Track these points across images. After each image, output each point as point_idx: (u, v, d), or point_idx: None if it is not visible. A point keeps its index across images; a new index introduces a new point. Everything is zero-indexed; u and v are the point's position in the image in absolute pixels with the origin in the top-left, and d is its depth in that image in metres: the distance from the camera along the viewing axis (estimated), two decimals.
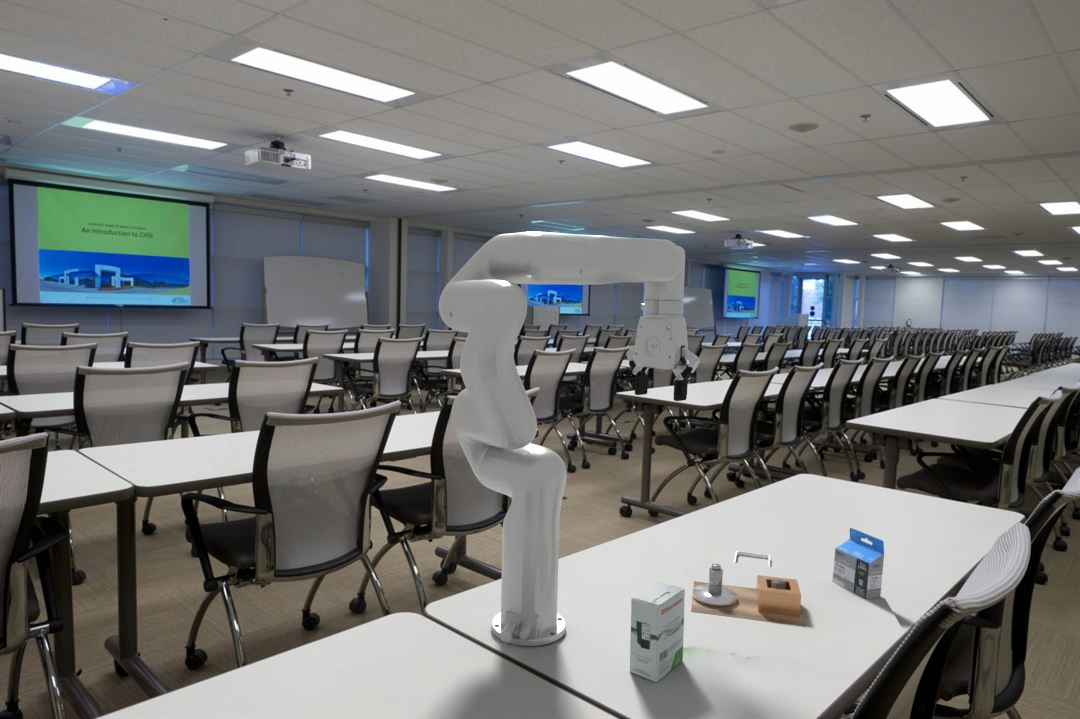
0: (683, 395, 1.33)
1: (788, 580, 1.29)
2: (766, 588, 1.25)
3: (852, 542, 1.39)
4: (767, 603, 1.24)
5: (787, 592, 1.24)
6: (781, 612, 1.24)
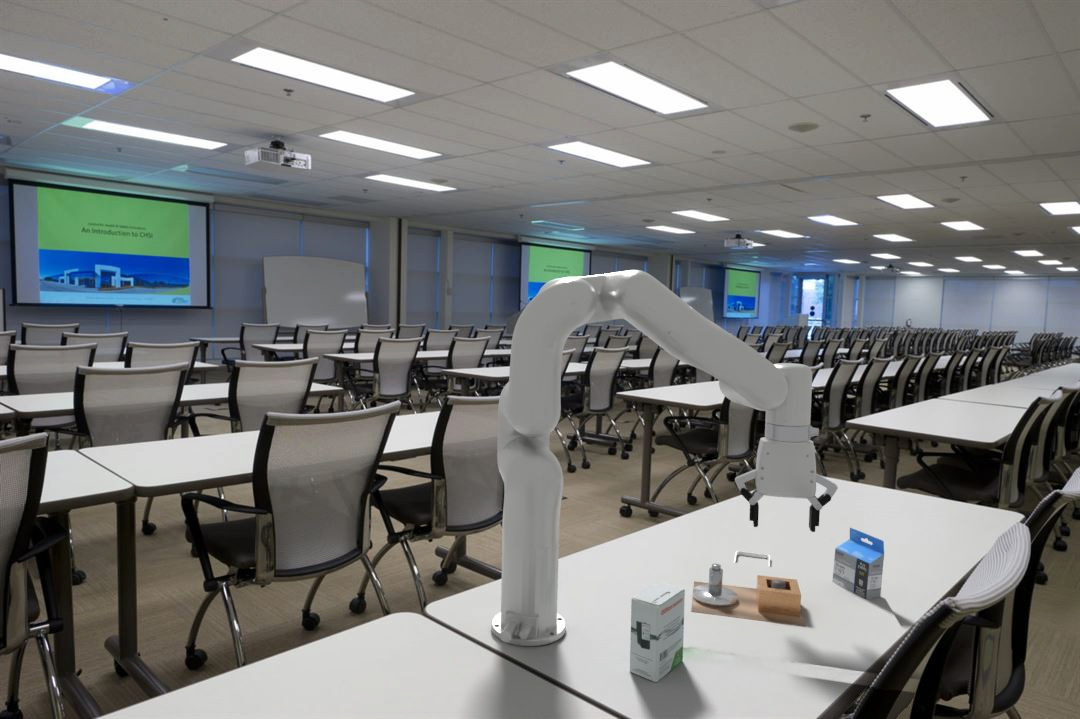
0: None
1: (788, 580, 1.29)
2: (766, 588, 1.25)
3: (852, 542, 1.39)
4: (767, 603, 1.24)
5: (787, 592, 1.24)
6: (781, 612, 1.24)
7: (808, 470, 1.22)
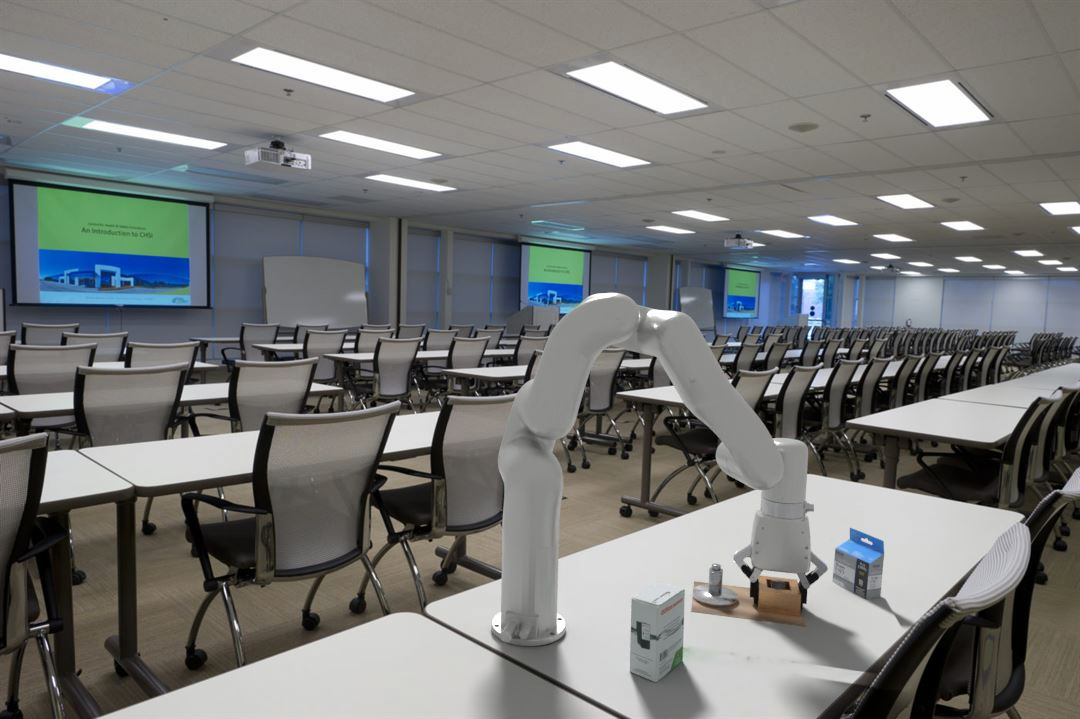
0: None
1: (788, 580, 1.29)
2: (766, 588, 1.25)
3: (852, 542, 1.39)
4: (767, 603, 1.24)
5: (787, 592, 1.24)
6: (781, 612, 1.24)
7: (803, 546, 1.23)
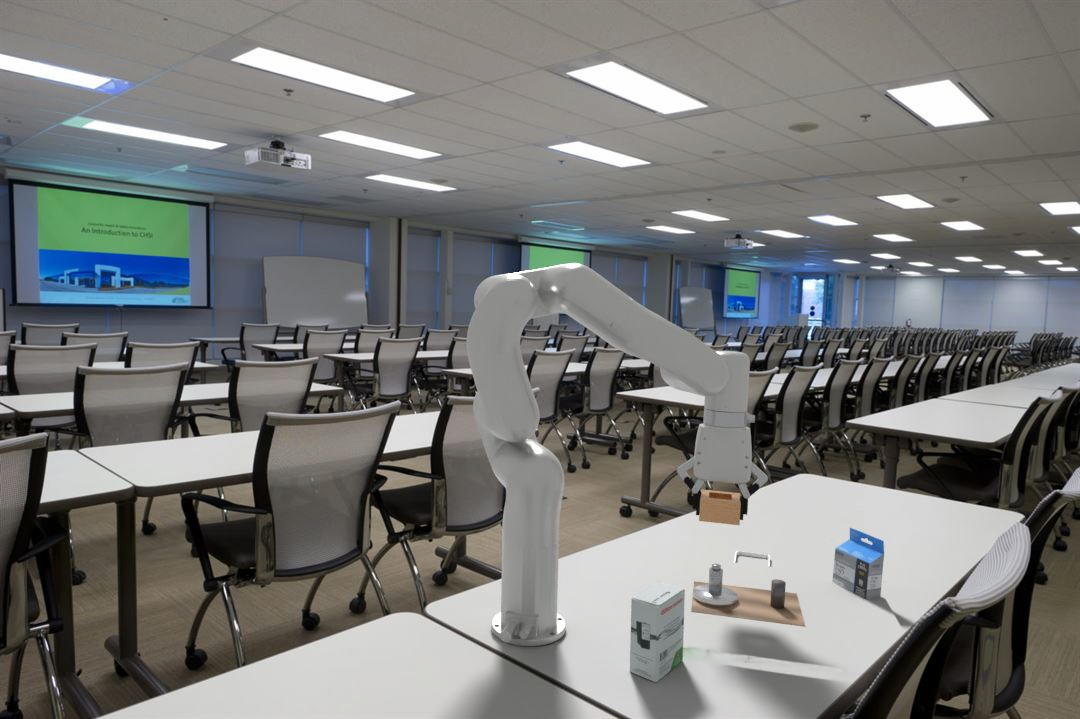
0: None
1: (731, 493, 1.30)
2: (707, 498, 1.26)
3: (852, 542, 1.39)
4: (708, 512, 1.26)
5: (727, 501, 1.25)
6: (721, 520, 1.25)
7: (743, 456, 1.25)
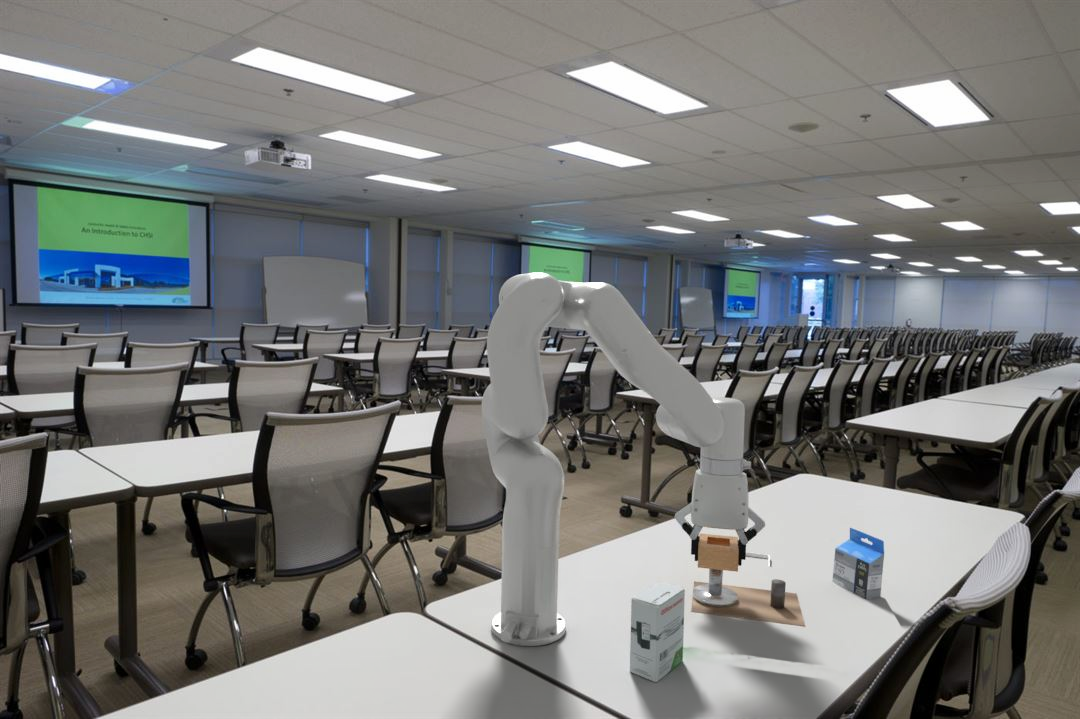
0: None
1: (729, 537, 1.31)
2: (705, 544, 1.27)
3: (852, 542, 1.39)
4: (706, 559, 1.26)
5: (725, 547, 1.26)
6: (720, 567, 1.26)
7: (740, 502, 1.25)
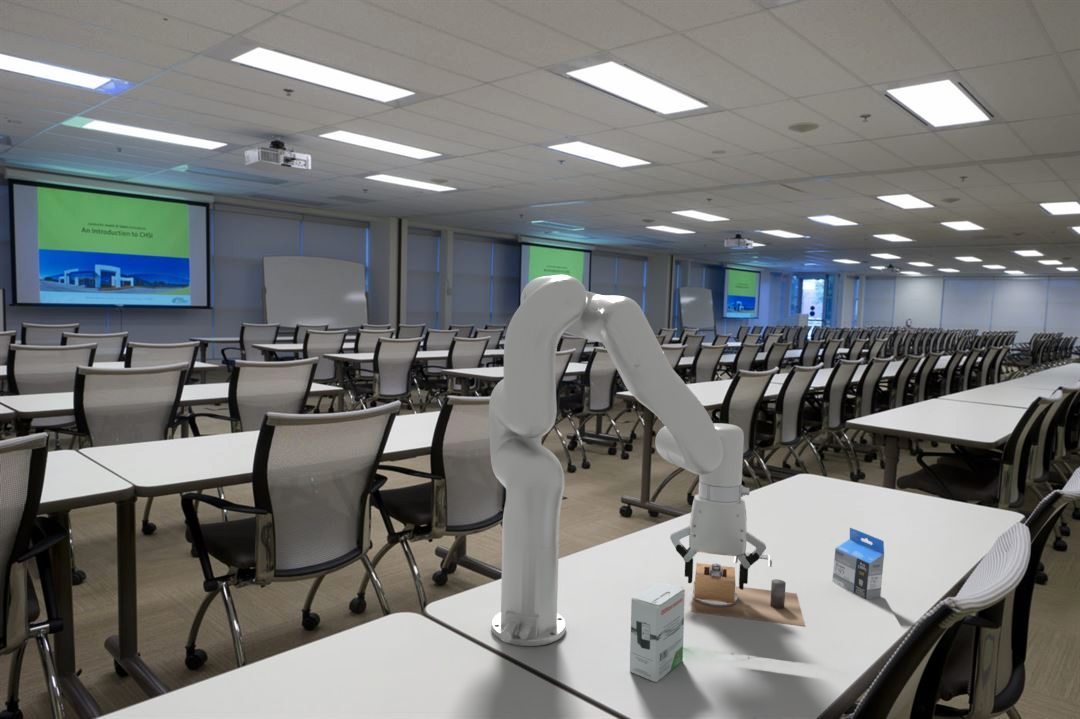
0: None
1: (726, 568, 1.32)
2: (702, 575, 1.28)
3: (852, 542, 1.39)
4: (703, 590, 1.27)
5: (722, 579, 1.26)
6: (716, 598, 1.26)
7: (738, 529, 1.26)
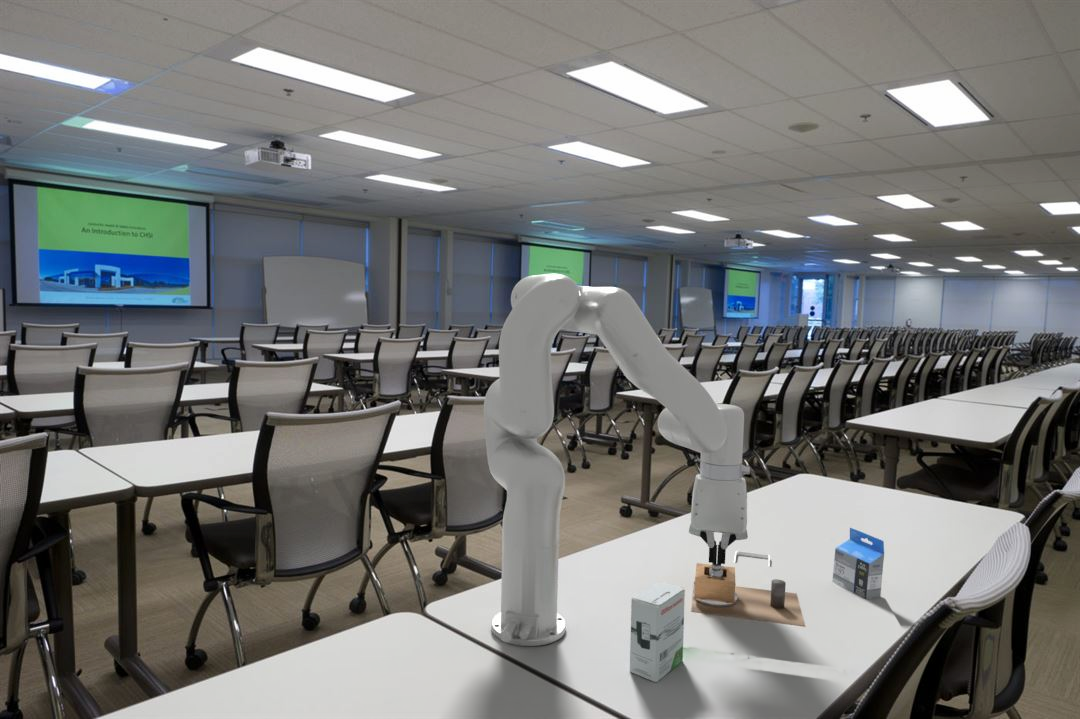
0: None
1: (726, 568, 1.32)
2: (702, 575, 1.28)
3: (852, 542, 1.39)
4: (703, 590, 1.27)
5: (722, 579, 1.26)
6: (716, 598, 1.26)
7: (739, 507, 1.28)
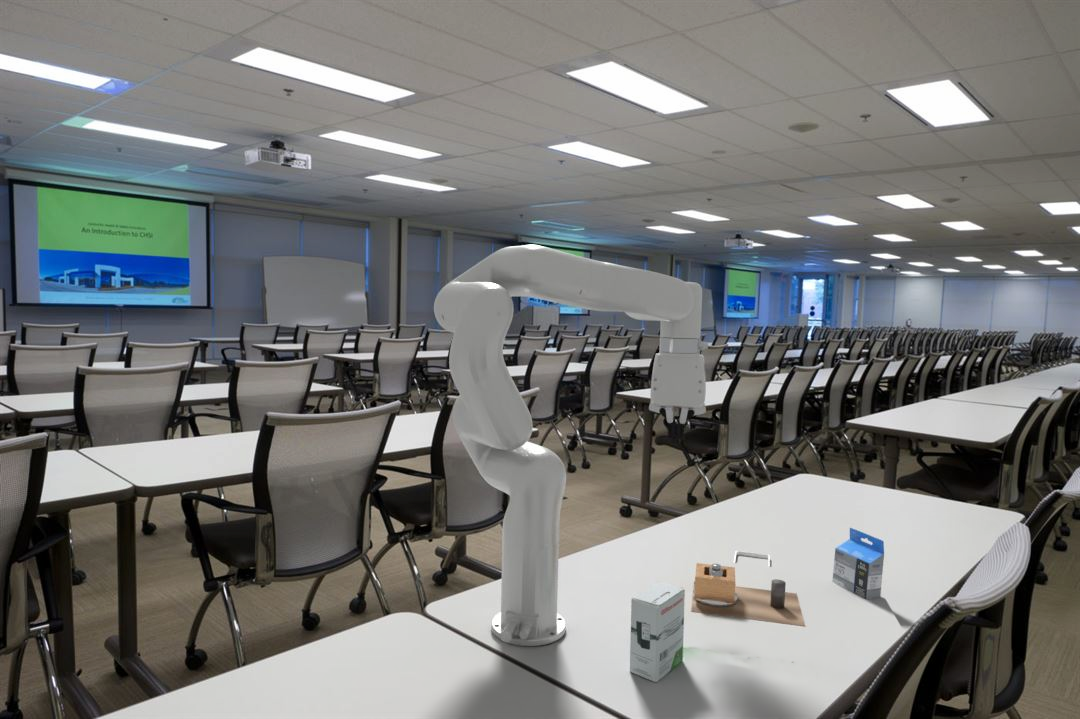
0: None
1: (726, 568, 1.32)
2: (702, 575, 1.28)
3: (852, 542, 1.39)
4: (703, 590, 1.27)
5: (722, 579, 1.26)
6: (716, 598, 1.26)
7: (697, 380, 1.30)
